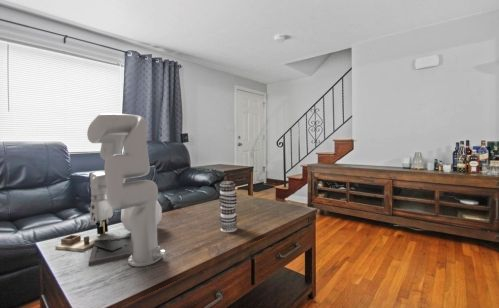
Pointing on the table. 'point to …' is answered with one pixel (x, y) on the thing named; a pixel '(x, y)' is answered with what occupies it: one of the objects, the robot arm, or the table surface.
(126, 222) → the geometric orb
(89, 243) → the board
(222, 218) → the decorative candle
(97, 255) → the picture frame
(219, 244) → the table surface
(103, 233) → the brass pin
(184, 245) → the table surface
